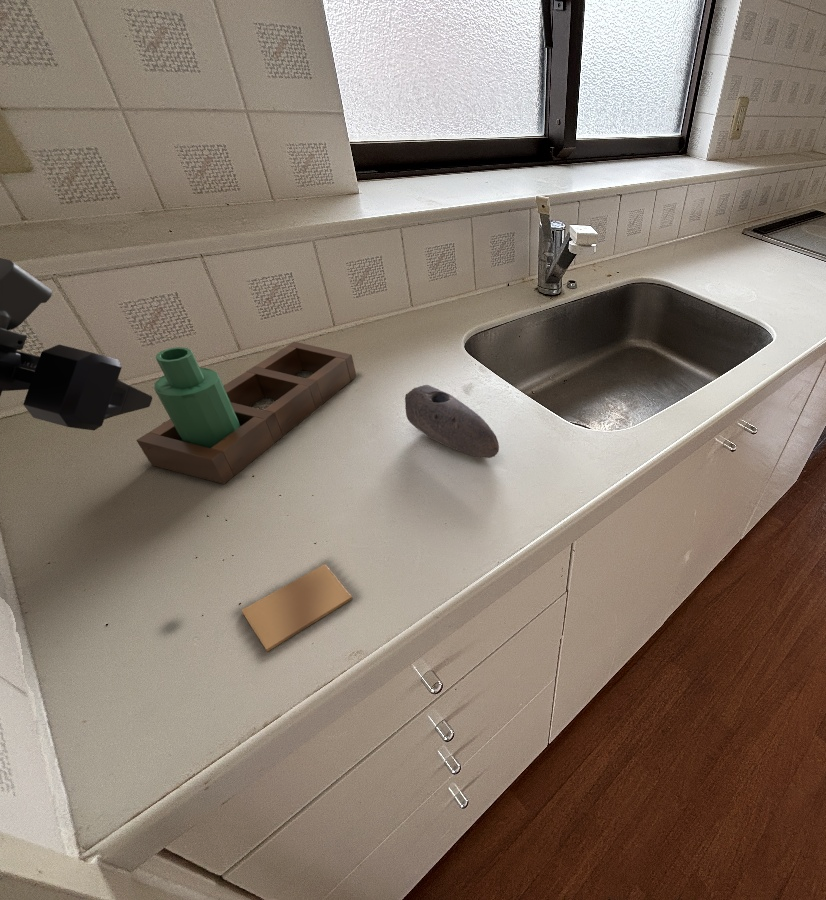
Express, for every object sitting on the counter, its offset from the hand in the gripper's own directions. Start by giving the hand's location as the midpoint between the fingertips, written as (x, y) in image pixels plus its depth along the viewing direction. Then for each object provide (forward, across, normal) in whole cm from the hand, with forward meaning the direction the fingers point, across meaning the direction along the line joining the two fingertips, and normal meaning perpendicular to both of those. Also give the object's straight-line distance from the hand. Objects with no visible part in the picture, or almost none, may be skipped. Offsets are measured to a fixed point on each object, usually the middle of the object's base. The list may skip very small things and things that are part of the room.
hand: (109, 391), depth 49 cm
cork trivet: (+3, -24, +16) cm, 29 cm away
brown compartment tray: (+21, 0, -1) cm, 21 cm away
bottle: (+15, 0, +4) cm, 16 cm away
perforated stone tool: (+24, -26, -4) cm, 36 cm away
